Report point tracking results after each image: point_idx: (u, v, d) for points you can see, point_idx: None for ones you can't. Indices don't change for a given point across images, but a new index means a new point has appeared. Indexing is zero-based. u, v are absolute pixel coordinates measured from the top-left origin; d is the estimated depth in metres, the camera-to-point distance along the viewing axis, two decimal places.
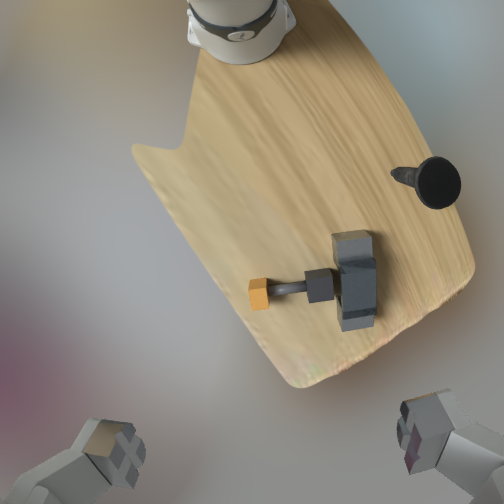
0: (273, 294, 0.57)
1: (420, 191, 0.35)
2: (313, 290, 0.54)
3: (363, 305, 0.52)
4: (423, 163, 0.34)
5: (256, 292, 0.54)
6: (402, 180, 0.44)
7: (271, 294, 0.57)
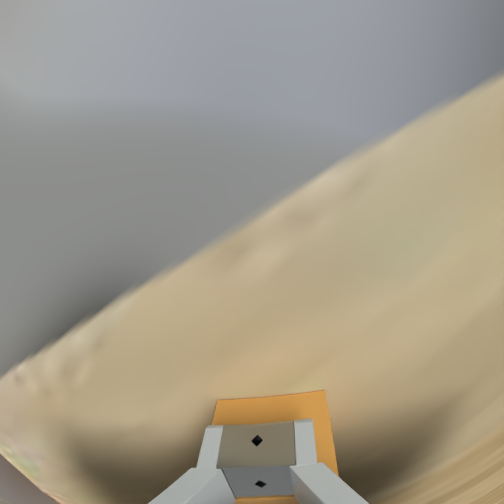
0: None
1: None
2: None
3: None
4: None
5: None
6: None
7: None
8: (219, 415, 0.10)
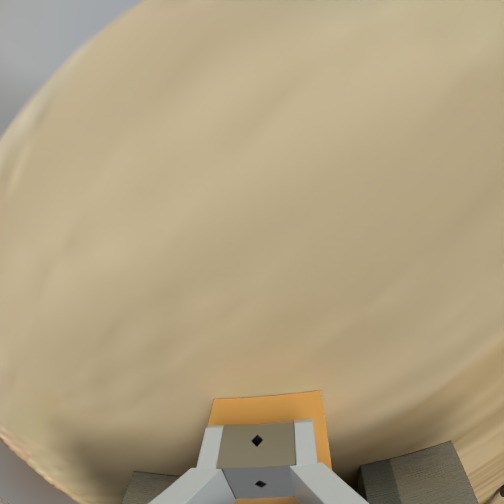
0: None
1: None
2: None
3: None
4: None
5: None
6: None
7: None
8: (215, 414, 0.10)
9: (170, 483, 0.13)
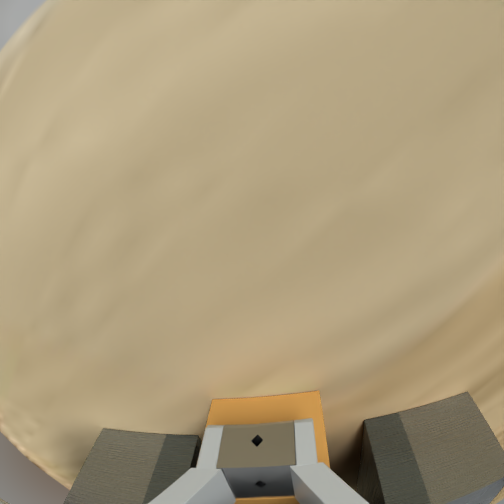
0: None
1: None
2: None
3: None
4: None
5: None
6: None
7: None
8: (214, 414, 0.10)
9: (141, 441, 0.12)
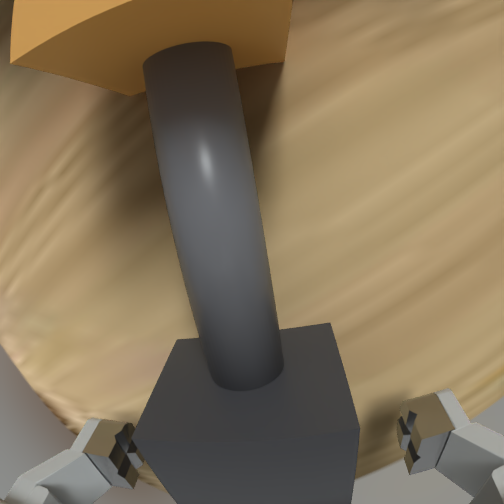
0: (162, 102, 0.05)
1: None
2: (251, 470, 0.05)
3: None
4: None
5: None
6: None
7: (163, 83, 0.05)
8: None
9: None
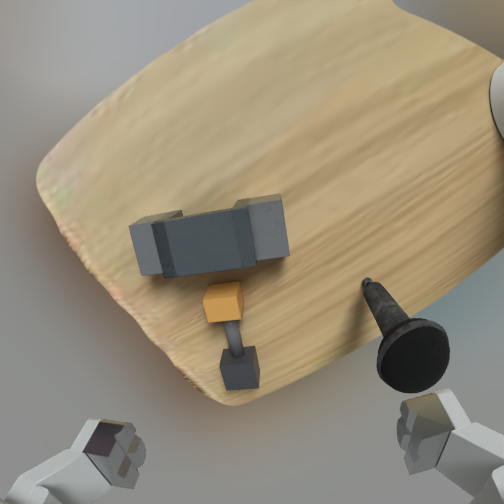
0: None
1: (413, 332, 0.22)
2: (238, 370, 0.40)
3: (178, 254, 0.33)
4: (444, 331, 0.22)
5: (232, 307, 0.37)
6: (378, 296, 0.32)
7: None
8: (209, 287, 0.40)
9: (160, 214, 0.38)
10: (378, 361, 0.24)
